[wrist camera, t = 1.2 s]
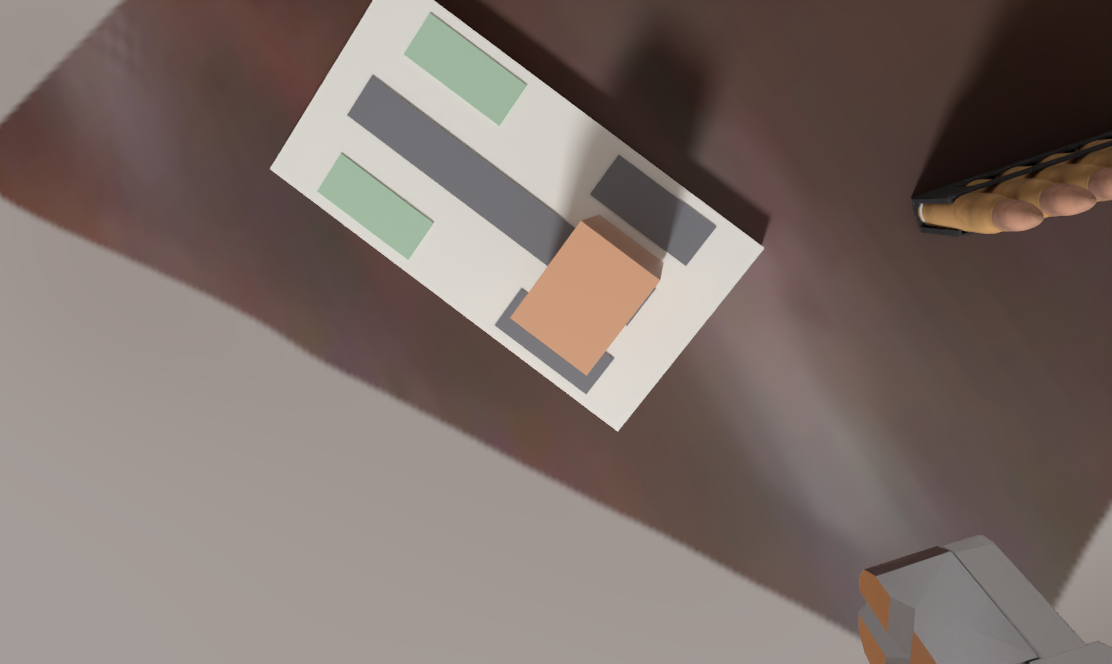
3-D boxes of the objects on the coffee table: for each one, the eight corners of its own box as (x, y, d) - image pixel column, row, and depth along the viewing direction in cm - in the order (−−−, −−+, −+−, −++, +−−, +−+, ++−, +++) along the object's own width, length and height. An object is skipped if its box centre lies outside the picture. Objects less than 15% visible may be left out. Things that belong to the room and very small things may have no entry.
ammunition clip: (919, 233, 40) (1019, 251, 29) (909, 197, 40) (1005, 201, 28) (1152, 158, 38) (1361, 145, 26) (1142, 120, 38) (1348, 89, 26)
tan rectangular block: (599, 214, 41) (580, 220, 33) (663, 262, 40) (660, 280, 33) (541, 293, 42) (509, 318, 34) (603, 340, 42) (586, 375, 34)
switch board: (402, -24, 42) (391, -32, 40) (761, 245, 41) (764, 248, 40) (283, 169, 44) (269, 168, 43) (619, 423, 44) (617, 432, 43)
